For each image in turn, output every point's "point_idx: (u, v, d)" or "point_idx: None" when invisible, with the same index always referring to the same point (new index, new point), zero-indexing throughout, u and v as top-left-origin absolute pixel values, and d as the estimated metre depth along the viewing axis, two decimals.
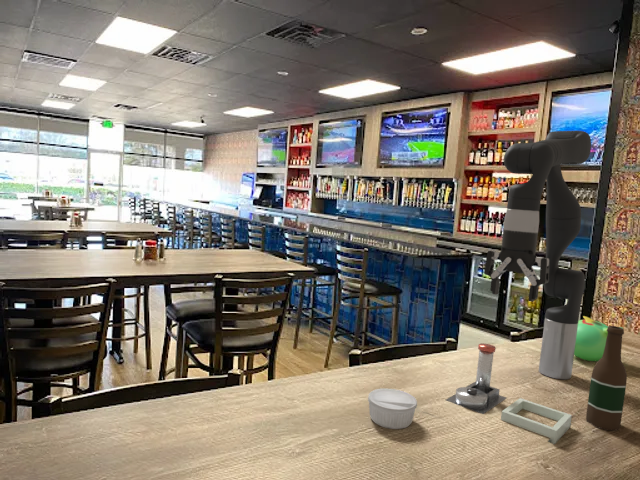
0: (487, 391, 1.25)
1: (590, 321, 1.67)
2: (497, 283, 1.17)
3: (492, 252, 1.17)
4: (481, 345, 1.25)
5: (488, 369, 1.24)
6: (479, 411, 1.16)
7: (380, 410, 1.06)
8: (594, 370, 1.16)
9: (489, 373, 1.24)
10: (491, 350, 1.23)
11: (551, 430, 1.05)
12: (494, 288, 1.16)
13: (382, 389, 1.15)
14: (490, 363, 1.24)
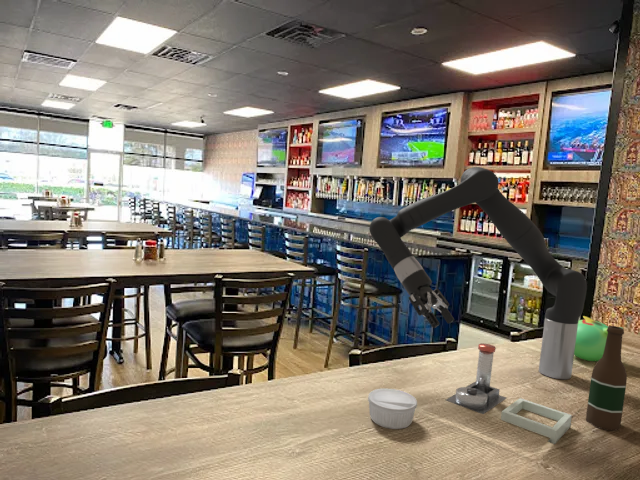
0: (487, 391, 1.25)
1: (590, 321, 1.67)
2: (444, 313, 1.37)
3: None
4: (481, 345, 1.25)
5: (488, 369, 1.24)
6: (479, 411, 1.16)
7: (380, 410, 1.06)
8: (594, 370, 1.16)
9: (489, 373, 1.24)
10: (491, 350, 1.23)
11: (551, 430, 1.05)
12: None
13: (382, 389, 1.15)
14: (490, 363, 1.24)
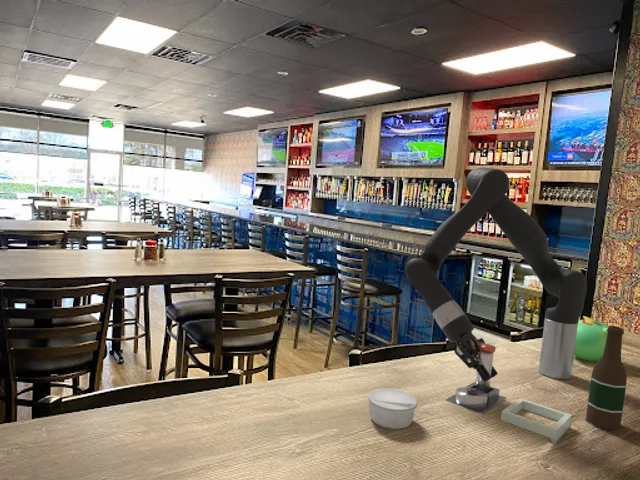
0: (487, 391, 1.25)
1: (590, 321, 1.67)
2: None
3: None
4: (481, 345, 1.25)
5: (488, 369, 1.24)
6: (479, 411, 1.16)
7: (380, 410, 1.06)
8: (594, 370, 1.16)
9: (489, 373, 1.24)
10: (491, 350, 1.23)
11: (551, 430, 1.05)
12: None
13: (382, 389, 1.15)
14: (490, 363, 1.24)
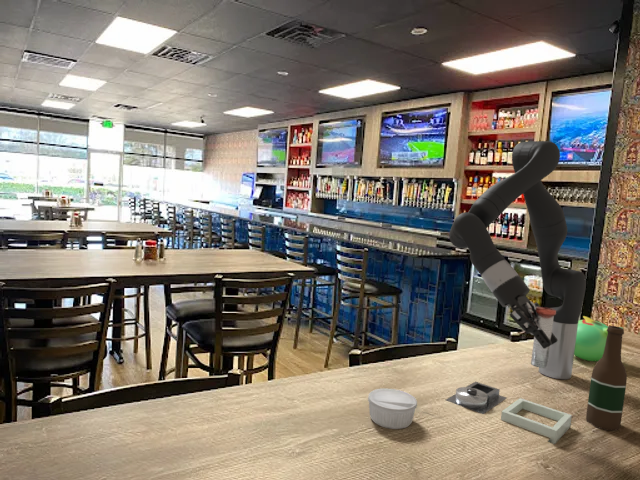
0: (546, 359, 1.11)
1: (590, 321, 1.67)
2: None
3: None
4: (539, 308, 1.11)
5: (547, 334, 1.10)
6: (479, 411, 1.16)
7: (380, 410, 1.06)
8: (594, 370, 1.16)
9: None
10: (551, 313, 1.09)
11: (551, 430, 1.05)
12: None
13: (382, 389, 1.15)
14: (550, 328, 1.10)
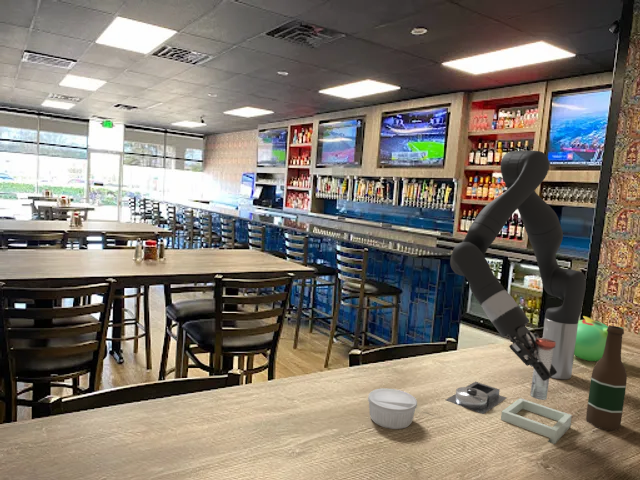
0: (546, 391, 1.11)
1: (590, 321, 1.67)
2: None
3: None
4: (539, 340, 1.12)
5: (547, 366, 1.10)
6: (479, 411, 1.16)
7: (380, 410, 1.06)
8: (594, 370, 1.16)
9: None
10: (551, 345, 1.09)
11: (551, 430, 1.05)
12: None
13: (382, 389, 1.15)
14: (550, 360, 1.10)
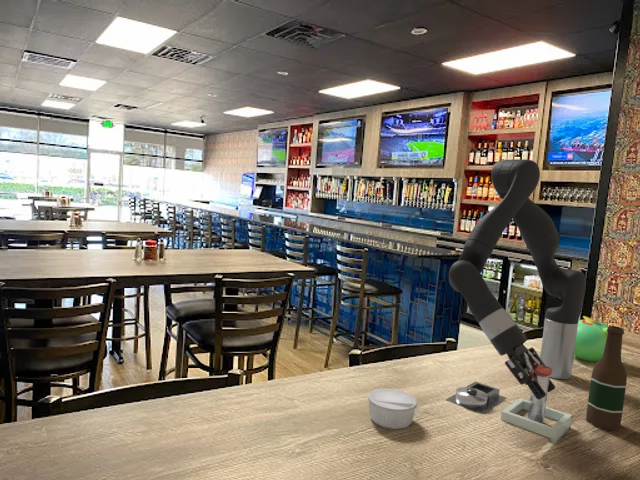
0: (542, 418, 1.12)
1: (590, 321, 1.67)
2: None
3: None
4: (535, 367, 1.12)
5: None
6: (479, 411, 1.16)
7: (380, 410, 1.06)
8: (594, 370, 1.16)
9: (545, 398, 1.11)
10: (548, 372, 1.10)
11: (551, 430, 1.05)
12: None
13: (382, 389, 1.15)
14: (546, 387, 1.11)
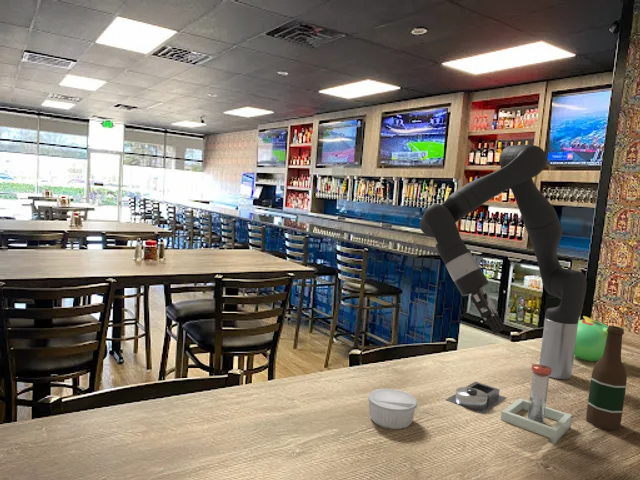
0: (542, 418, 1.12)
1: (590, 321, 1.67)
2: None
3: None
4: (535, 366, 1.12)
5: (543, 393, 1.11)
6: (479, 411, 1.16)
7: (380, 410, 1.06)
8: (594, 370, 1.16)
9: (545, 398, 1.11)
10: (547, 372, 1.10)
11: (551, 430, 1.05)
12: None
13: (382, 389, 1.15)
14: (546, 387, 1.11)
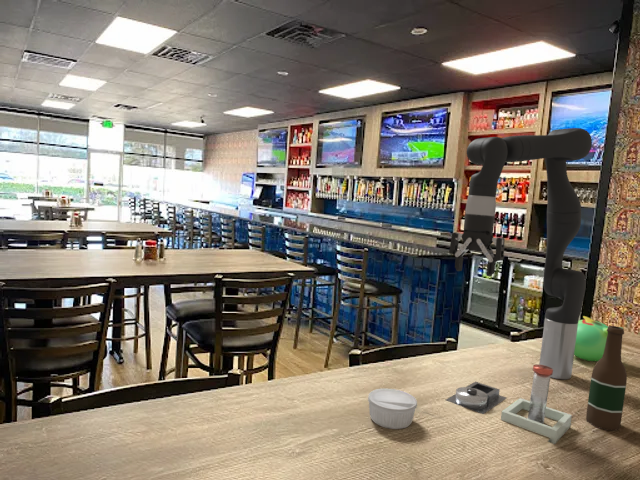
0: (543, 418, 1.12)
1: (590, 321, 1.67)
2: (461, 261, 1.32)
3: (456, 234, 1.32)
4: (536, 367, 1.12)
5: (544, 393, 1.11)
6: (479, 411, 1.16)
7: (380, 410, 1.06)
8: (594, 370, 1.16)
9: (545, 398, 1.11)
10: (549, 373, 1.10)
11: (551, 430, 1.05)
12: (458, 265, 1.32)
13: (382, 389, 1.15)
14: (547, 387, 1.11)
